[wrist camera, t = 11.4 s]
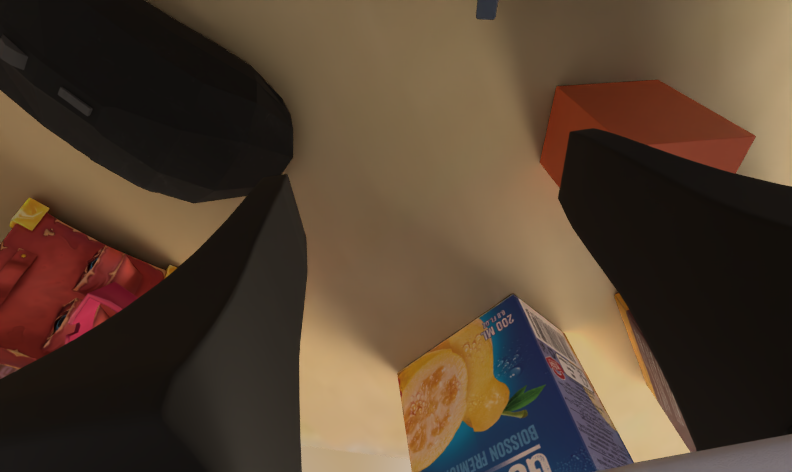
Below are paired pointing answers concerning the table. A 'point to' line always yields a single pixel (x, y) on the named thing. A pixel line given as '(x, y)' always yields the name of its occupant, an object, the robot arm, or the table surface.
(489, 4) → the flap
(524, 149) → the table surface
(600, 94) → the small box
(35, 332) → the book monster
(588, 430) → the beverage box
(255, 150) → the gaming mouse
